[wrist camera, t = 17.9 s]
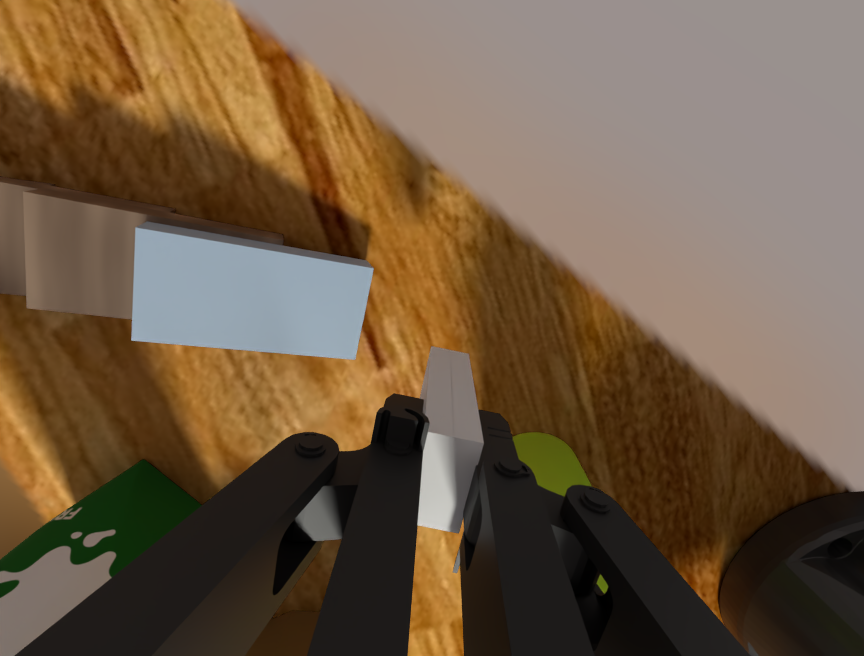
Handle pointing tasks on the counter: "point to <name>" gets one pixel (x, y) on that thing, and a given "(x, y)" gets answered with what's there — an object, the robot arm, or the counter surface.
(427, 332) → the counter surface
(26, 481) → the counter surface
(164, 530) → the milk carton
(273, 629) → the flowerpot
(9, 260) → the domino
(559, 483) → the soap dispenser
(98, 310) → the domino
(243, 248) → the domino
